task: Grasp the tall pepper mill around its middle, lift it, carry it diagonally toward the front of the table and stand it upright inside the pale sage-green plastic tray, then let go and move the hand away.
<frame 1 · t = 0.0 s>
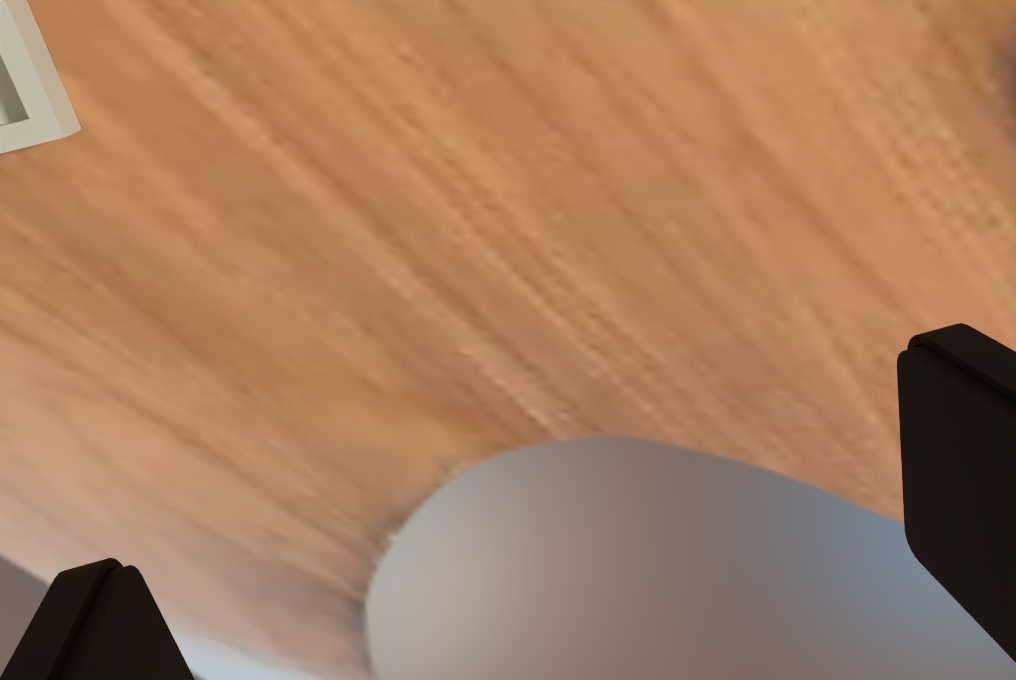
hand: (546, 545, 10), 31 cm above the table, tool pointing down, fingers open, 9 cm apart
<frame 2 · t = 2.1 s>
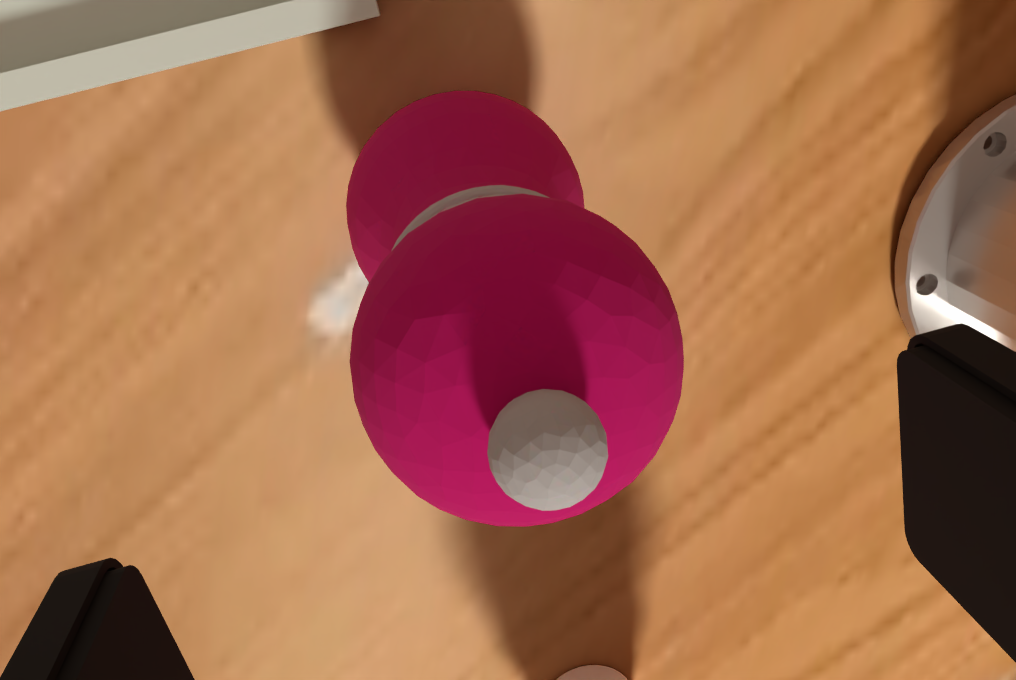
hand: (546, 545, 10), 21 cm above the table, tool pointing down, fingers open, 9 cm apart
pepper mill: (455, 183, 30), on the table
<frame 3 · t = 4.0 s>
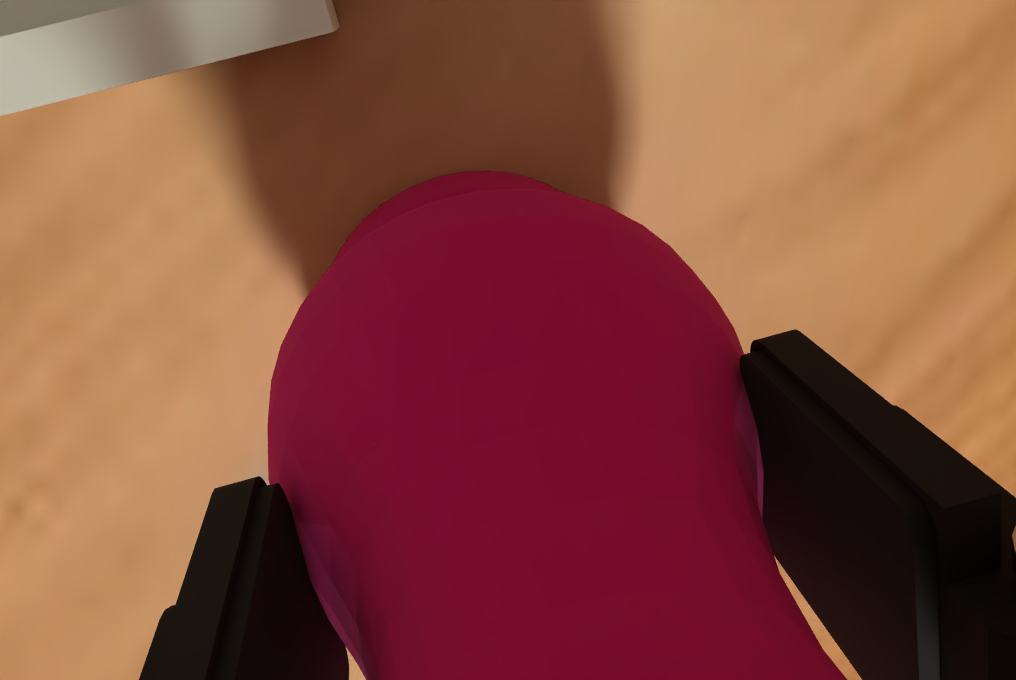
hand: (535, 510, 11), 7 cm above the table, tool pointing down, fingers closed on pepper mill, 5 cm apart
pepper mill: (477, 321, 17), on the table, touching gripper
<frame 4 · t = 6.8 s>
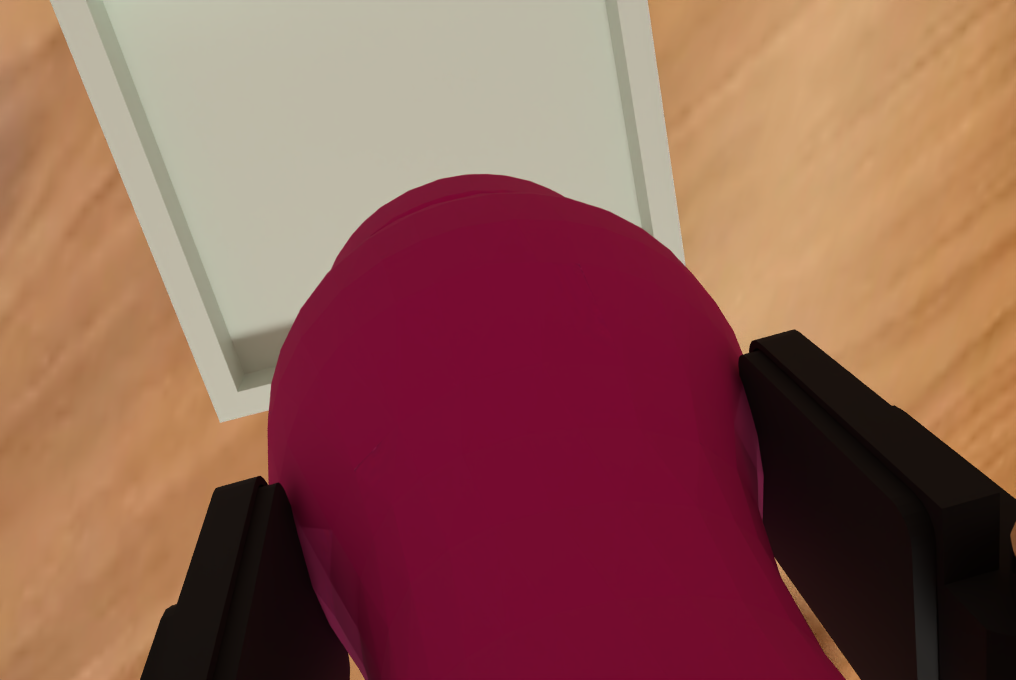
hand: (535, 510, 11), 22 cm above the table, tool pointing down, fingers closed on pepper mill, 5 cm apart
pepper mill: (476, 324, 17), point 15 cm above the table, touching gripper
tray: (400, 139, 30), on the table
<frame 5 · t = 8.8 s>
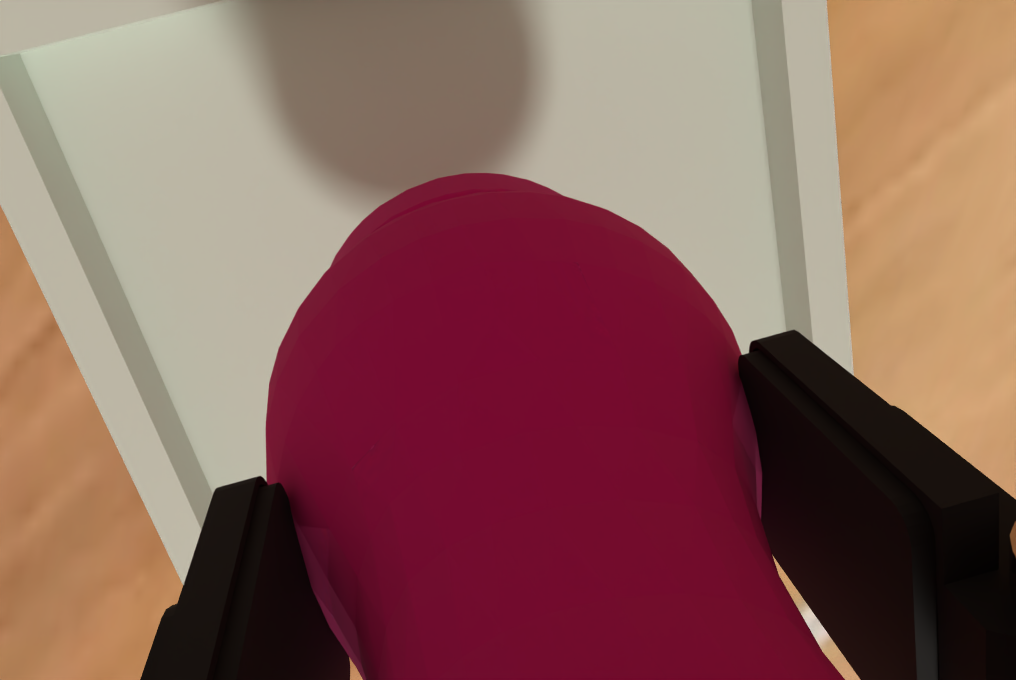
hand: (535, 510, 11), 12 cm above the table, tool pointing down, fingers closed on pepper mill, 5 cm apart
pepper mill: (475, 323, 17), point 5 cm above the table, touching gripper
tray: (461, 256, 22), on the table
when the fingers open (8 cm above the table, at t = 10.0 s): pepper mill drops 1 cm, resting on tray.
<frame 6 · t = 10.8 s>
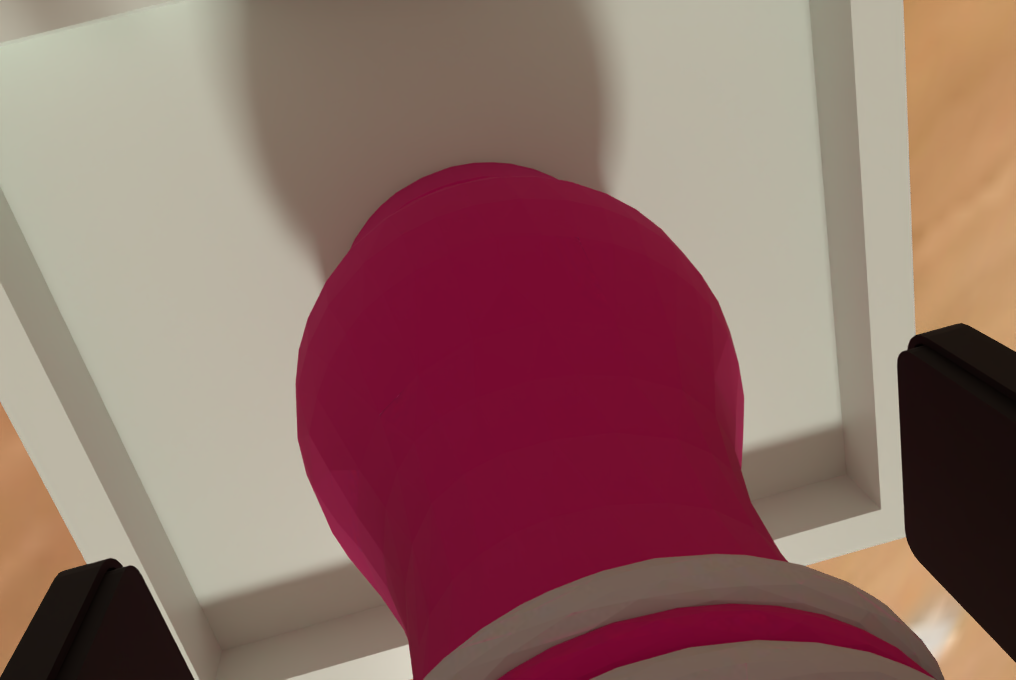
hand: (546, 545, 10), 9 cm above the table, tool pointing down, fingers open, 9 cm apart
pepper mill: (484, 303, 18), resting on tray
tray: (468, 294, 19), on the table
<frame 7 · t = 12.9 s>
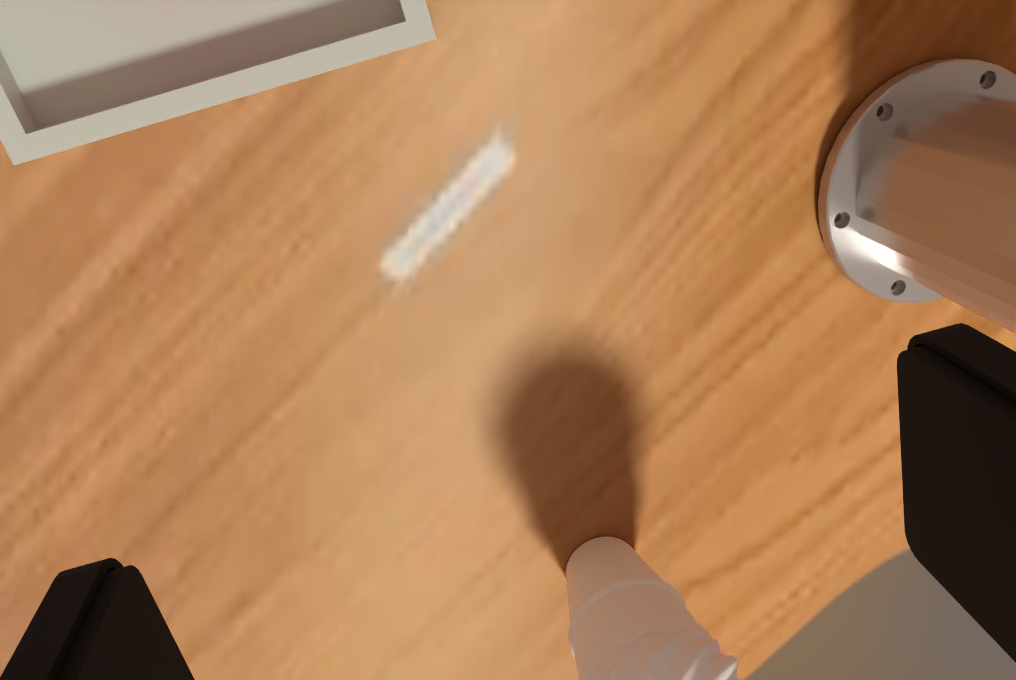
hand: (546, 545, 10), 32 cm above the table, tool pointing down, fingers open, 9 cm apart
soft serve ice cream cone: (600, 563, 51), on the table
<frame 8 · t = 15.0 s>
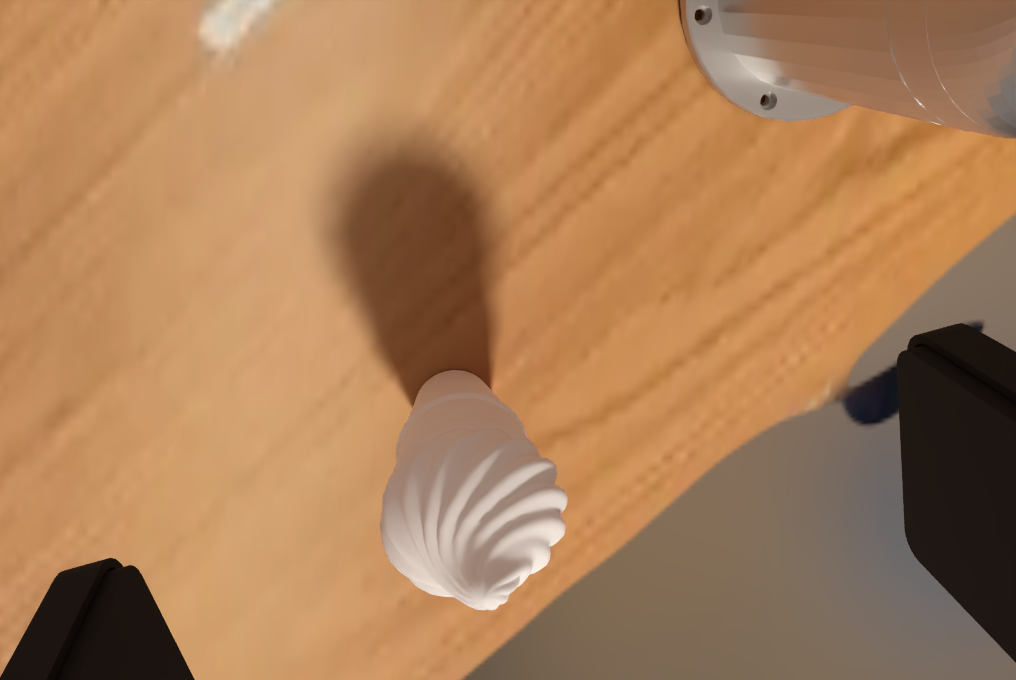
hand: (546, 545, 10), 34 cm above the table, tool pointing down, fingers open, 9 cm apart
soft serve ice cream cone: (453, 402, 48), on the table
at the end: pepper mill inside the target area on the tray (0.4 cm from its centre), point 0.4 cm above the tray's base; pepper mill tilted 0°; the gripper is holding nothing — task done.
